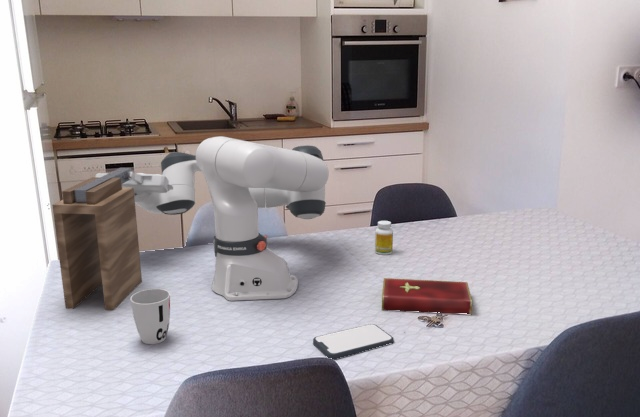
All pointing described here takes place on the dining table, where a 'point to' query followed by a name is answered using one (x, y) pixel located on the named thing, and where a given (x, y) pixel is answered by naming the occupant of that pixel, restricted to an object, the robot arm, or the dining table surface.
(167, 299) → the cup
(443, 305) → the hardcover book
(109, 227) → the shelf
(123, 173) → the bar
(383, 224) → the supplement bottle
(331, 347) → the smartphone
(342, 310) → the dining table surface
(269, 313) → the dining table surface
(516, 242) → the dining table surface
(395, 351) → the dining table surface
